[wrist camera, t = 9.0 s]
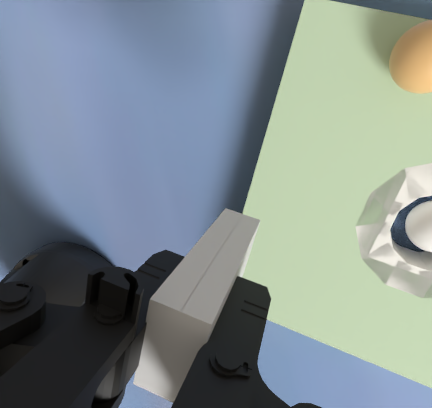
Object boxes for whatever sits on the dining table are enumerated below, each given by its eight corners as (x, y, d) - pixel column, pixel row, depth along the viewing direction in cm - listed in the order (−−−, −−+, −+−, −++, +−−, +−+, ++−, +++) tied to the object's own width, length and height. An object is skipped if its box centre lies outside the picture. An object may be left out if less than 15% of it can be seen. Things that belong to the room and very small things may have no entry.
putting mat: (226, 281, 29) (217, 298, 27) (308, 8, 21) (305, -5, 19) (425, 361, 26) (436, 390, 23) (618, 69, 17) (667, 65, 15)
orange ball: (374, 85, 19) (383, 83, 16) (400, 20, 18) (415, 4, 14) (436, 100, 18) (458, 101, 15) (468, 33, 17) (499, 19, 14)
